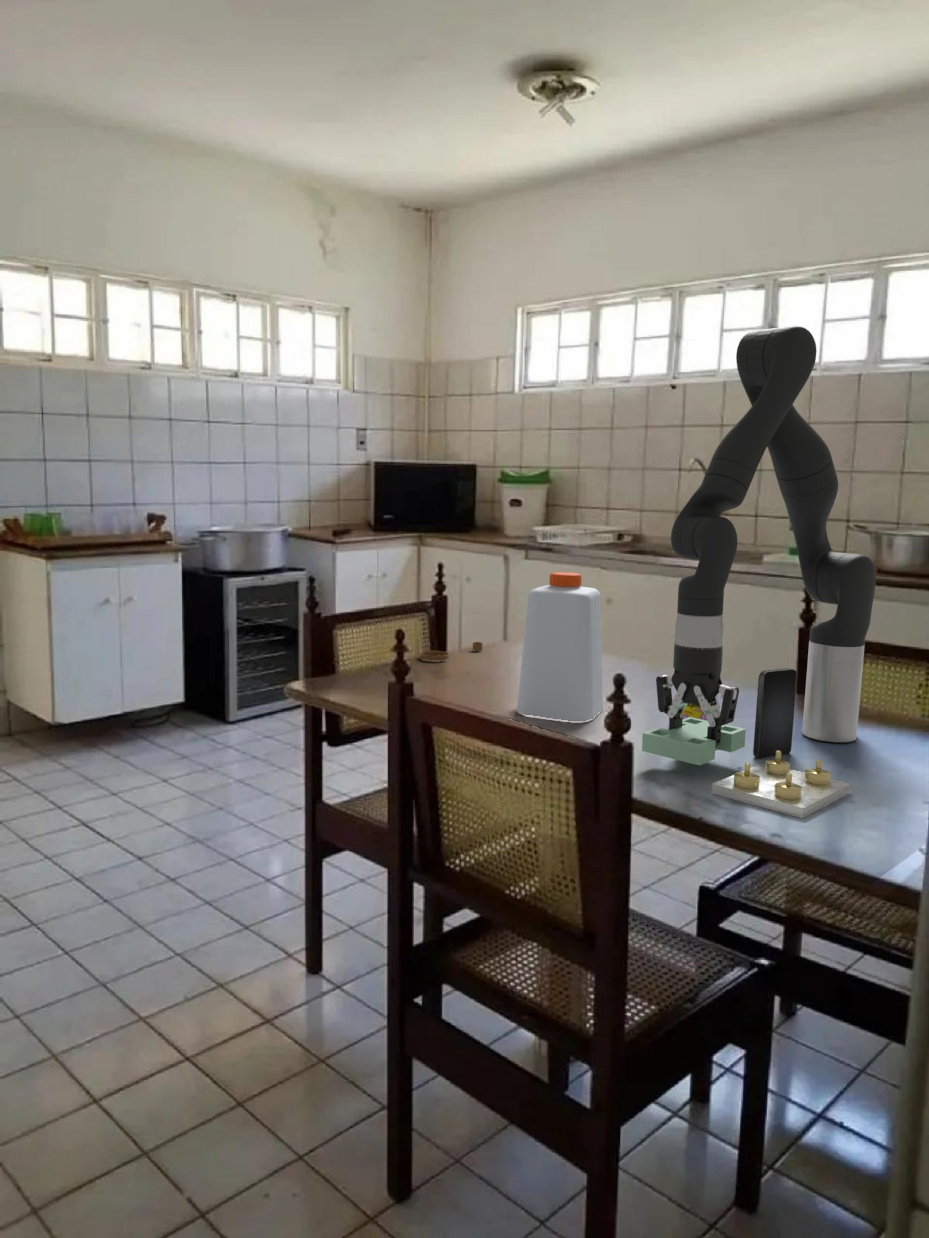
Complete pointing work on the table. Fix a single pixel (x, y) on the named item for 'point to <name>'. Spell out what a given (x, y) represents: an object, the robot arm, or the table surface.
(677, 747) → the board
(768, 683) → the phone
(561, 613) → the plastic bottle
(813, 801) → the chassis
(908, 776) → the table surface
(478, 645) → the place setting
